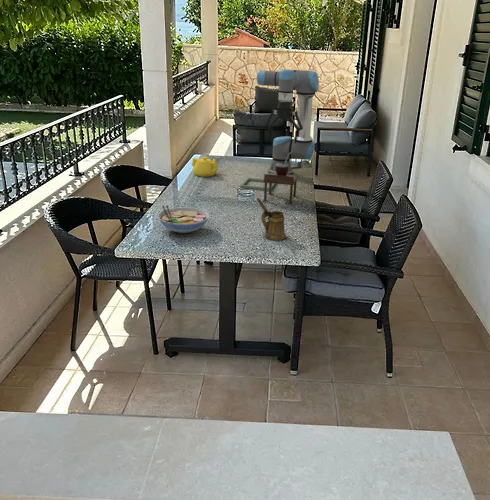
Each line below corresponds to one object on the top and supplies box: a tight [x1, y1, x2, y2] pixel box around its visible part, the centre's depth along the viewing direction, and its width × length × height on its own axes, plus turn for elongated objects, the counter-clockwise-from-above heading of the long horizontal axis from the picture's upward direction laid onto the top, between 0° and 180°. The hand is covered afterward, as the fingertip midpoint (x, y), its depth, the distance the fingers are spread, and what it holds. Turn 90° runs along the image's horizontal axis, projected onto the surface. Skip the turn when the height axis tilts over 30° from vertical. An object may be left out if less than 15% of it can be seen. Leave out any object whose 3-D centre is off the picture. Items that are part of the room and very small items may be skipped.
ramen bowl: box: [157, 204, 210, 234], centre depth 227 cm, size 25×23×8 cm
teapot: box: [191, 156, 219, 178], centre depth 319 cm, size 20×18×11 cm
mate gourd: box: [275, 151, 293, 176], centre depth 272 cm, size 8×8×15 cm
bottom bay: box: [240, 177, 276, 192], centre depth 302 cm, size 18×18×2 cm
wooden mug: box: [256, 197, 286, 241], centre depth 223 cm, size 9×14×18 cm, turn 94°
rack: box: [263, 172, 299, 205], centre depth 277 cm, size 16×16×15 cm
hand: (283, 141), depth 272 cm, fingers open, 13 cm apart
